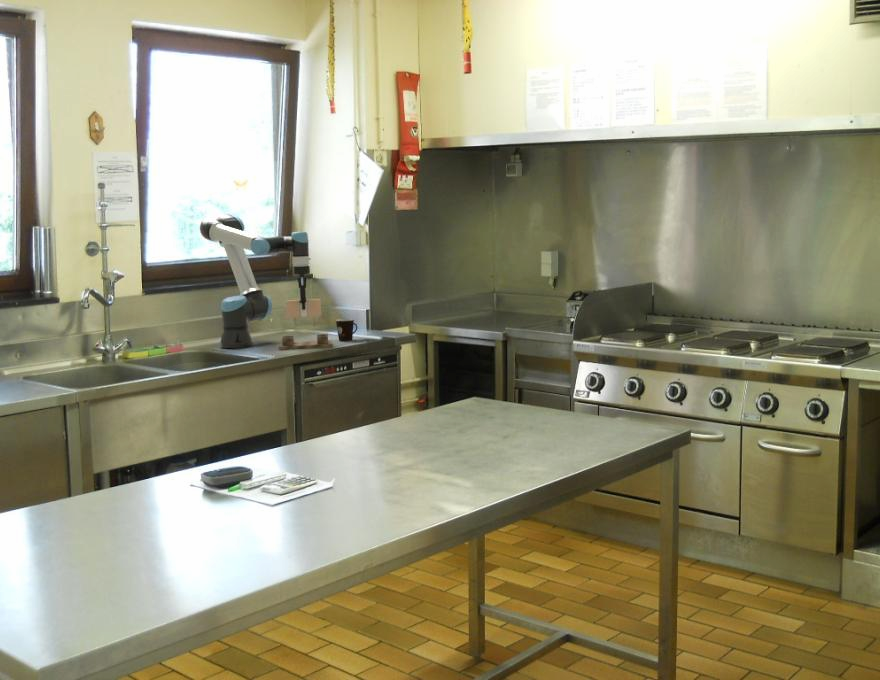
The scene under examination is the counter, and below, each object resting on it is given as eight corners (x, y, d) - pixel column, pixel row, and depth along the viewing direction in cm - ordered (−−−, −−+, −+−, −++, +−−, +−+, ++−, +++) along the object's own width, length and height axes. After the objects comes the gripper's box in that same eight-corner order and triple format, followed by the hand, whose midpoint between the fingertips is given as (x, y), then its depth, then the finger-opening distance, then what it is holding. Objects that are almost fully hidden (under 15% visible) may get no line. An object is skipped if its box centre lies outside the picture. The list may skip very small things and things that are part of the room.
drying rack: (279, 350, 471) (278, 339, 471) (280, 346, 483) (279, 335, 482) (331, 347, 474) (331, 336, 473) (331, 343, 486) (330, 333, 485)
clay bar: (286, 318, 474) (285, 301, 473) (286, 317, 477) (285, 300, 476) (321, 316, 476) (320, 299, 475) (321, 315, 479) (320, 298, 478)
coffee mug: (334, 340, 496) (333, 319, 494) (351, 338, 499) (350, 318, 498) (342, 343, 485) (341, 322, 484) (359, 341, 489) (358, 320, 488)
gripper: (309, 266, 466) (312, 317, 469) (309, 263, 481) (312, 313, 485) (292, 267, 465) (295, 318, 468) (293, 264, 480) (296, 314, 484)
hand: (304, 315), depth 477 cm, fingers closed on clay bar, 3 cm apart
